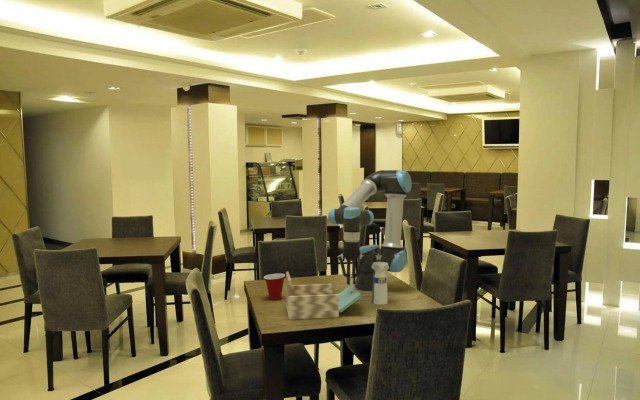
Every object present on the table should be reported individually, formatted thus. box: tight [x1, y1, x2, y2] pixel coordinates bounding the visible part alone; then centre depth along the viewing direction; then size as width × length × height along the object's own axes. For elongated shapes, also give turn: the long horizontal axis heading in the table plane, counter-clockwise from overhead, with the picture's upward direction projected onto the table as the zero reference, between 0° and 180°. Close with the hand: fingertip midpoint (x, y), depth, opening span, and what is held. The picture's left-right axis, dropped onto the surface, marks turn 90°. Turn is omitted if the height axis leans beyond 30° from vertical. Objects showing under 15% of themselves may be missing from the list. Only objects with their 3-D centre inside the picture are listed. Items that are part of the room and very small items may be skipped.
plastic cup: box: [263, 273, 286, 301], centre depth 237 cm, size 11×11×12 cm
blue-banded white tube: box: [371, 253, 389, 306], centre depth 229 cm, size 8×9×25 cm
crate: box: [285, 271, 340, 321], centre depth 215 cm, size 22×20×17 cm
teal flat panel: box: [337, 285, 363, 314], centre depth 218 cm, size 2×19×12 cm
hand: (350, 291), depth 218 cm, fingers closed
